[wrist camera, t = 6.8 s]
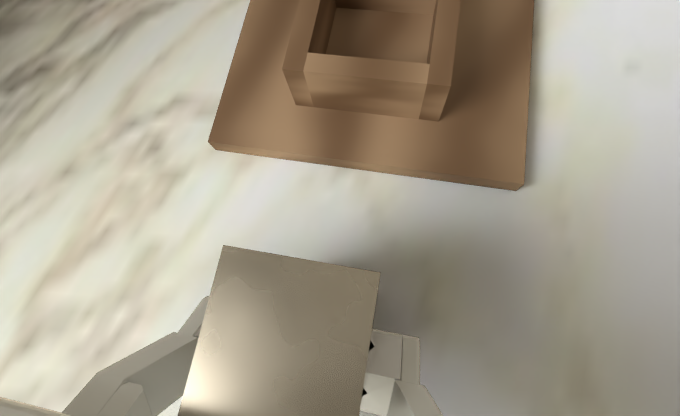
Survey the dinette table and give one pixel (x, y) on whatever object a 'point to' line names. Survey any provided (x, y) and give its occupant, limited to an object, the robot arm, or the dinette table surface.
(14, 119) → the dinette table surface
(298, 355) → the block
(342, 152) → the wooden slotted tray
